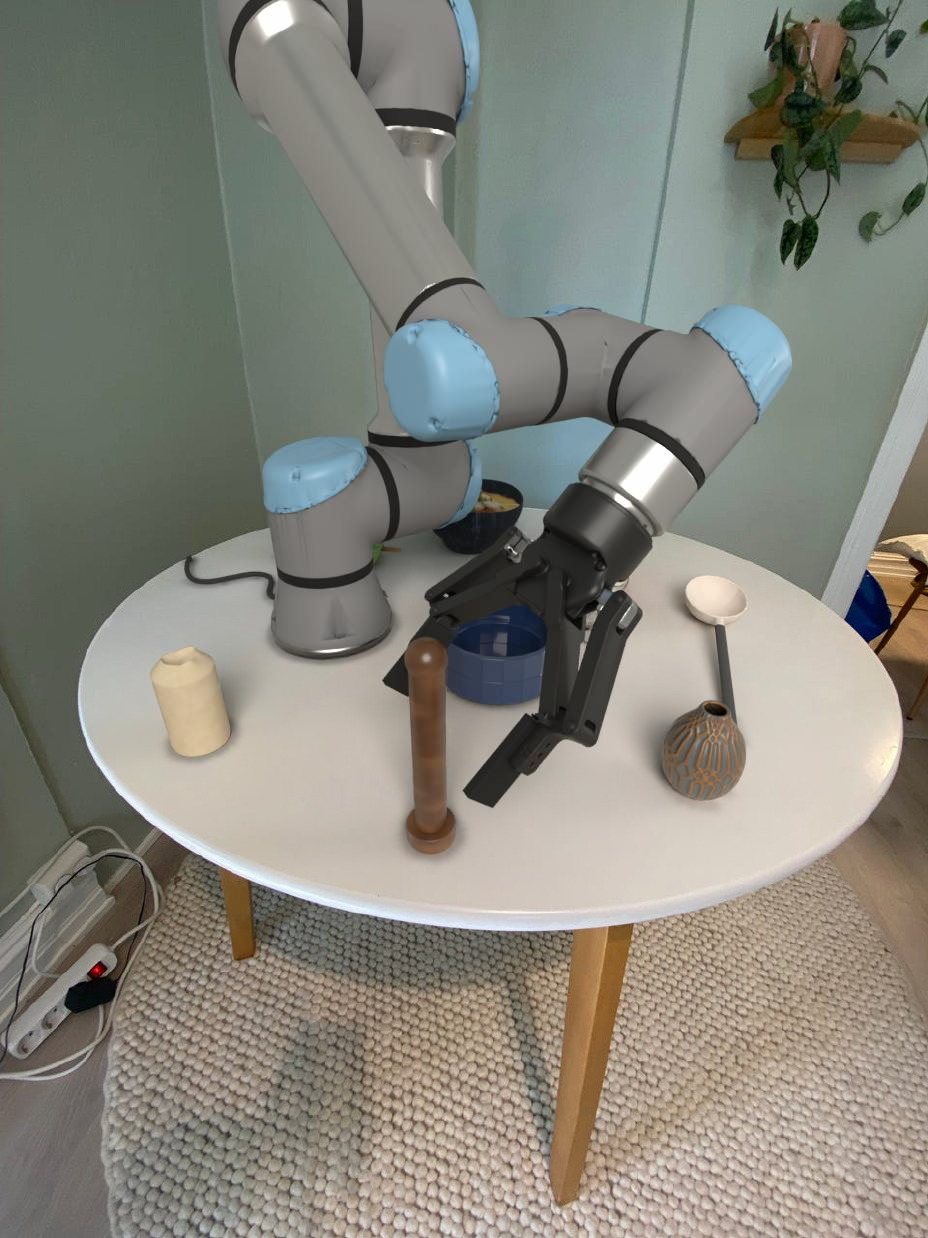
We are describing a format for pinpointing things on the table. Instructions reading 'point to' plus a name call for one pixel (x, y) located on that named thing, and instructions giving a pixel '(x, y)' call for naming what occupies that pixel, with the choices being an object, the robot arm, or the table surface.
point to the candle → (191, 701)
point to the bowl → (484, 519)
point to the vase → (704, 752)
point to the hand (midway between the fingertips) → (431, 738)
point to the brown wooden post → (428, 747)
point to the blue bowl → (498, 657)
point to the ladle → (718, 620)
